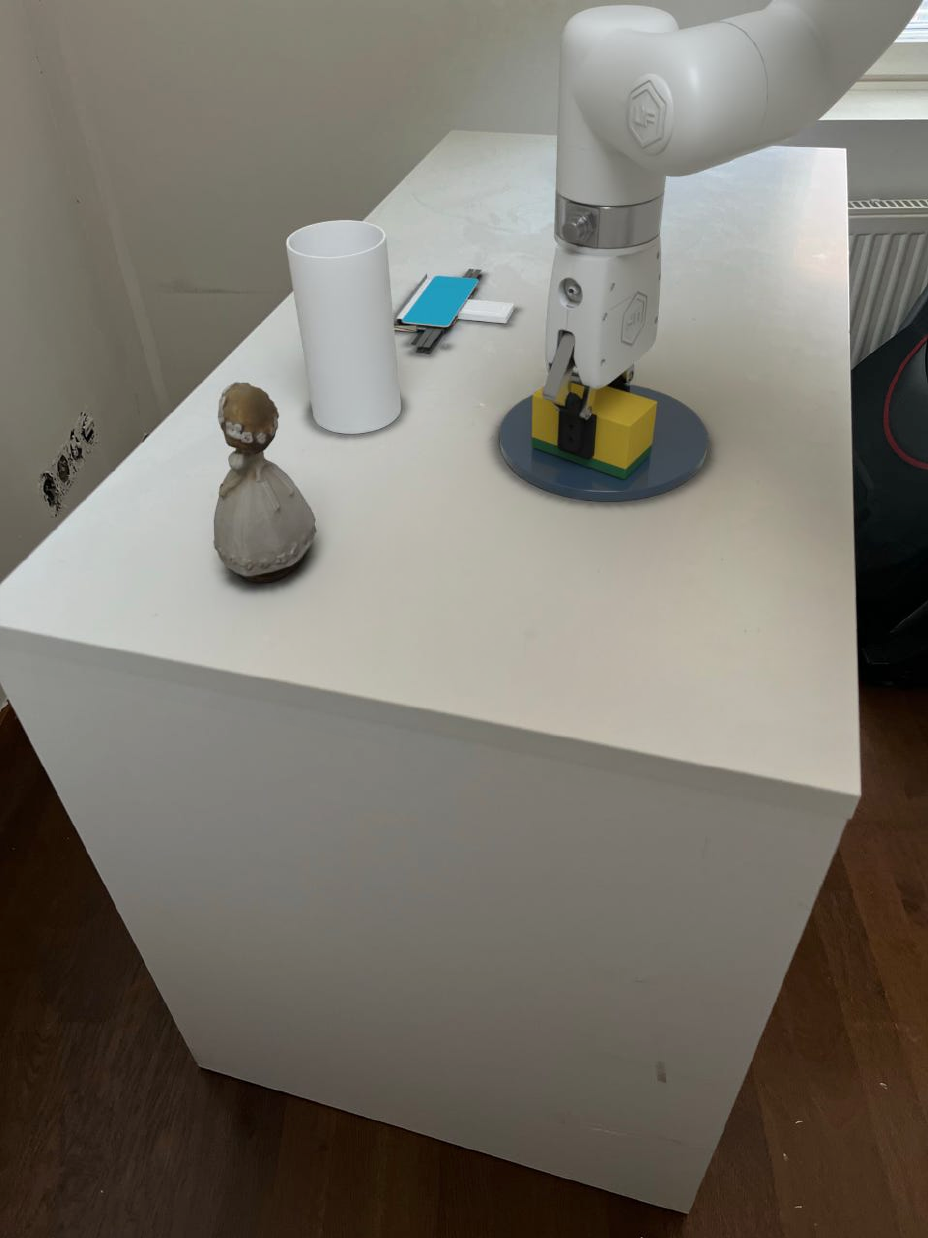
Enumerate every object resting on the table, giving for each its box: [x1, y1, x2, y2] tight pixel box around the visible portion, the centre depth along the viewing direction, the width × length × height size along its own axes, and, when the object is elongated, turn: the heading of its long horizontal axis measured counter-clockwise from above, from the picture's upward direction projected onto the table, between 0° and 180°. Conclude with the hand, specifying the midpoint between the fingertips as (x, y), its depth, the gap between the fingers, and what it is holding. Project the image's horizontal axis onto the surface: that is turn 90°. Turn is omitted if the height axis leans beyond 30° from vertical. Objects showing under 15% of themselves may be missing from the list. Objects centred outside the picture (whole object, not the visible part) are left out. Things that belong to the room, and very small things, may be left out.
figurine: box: [213, 381, 318, 584], centre depth 66 cm, size 8×7×15 cm
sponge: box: [532, 383, 657, 480], centre depth 78 cm, size 5×9×5 cm, turn 54°
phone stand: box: [393, 268, 515, 354], centre depth 102 cm, size 20×12×2 cm, turn 164°
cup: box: [285, 219, 402, 435], centre depth 82 cm, size 8×8×16 cm
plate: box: [499, 383, 709, 502], centre depth 82 cm, size 18×18×1 cm
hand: (592, 436), depth 78 cm, fingers closed on sponge, 4 cm apart
